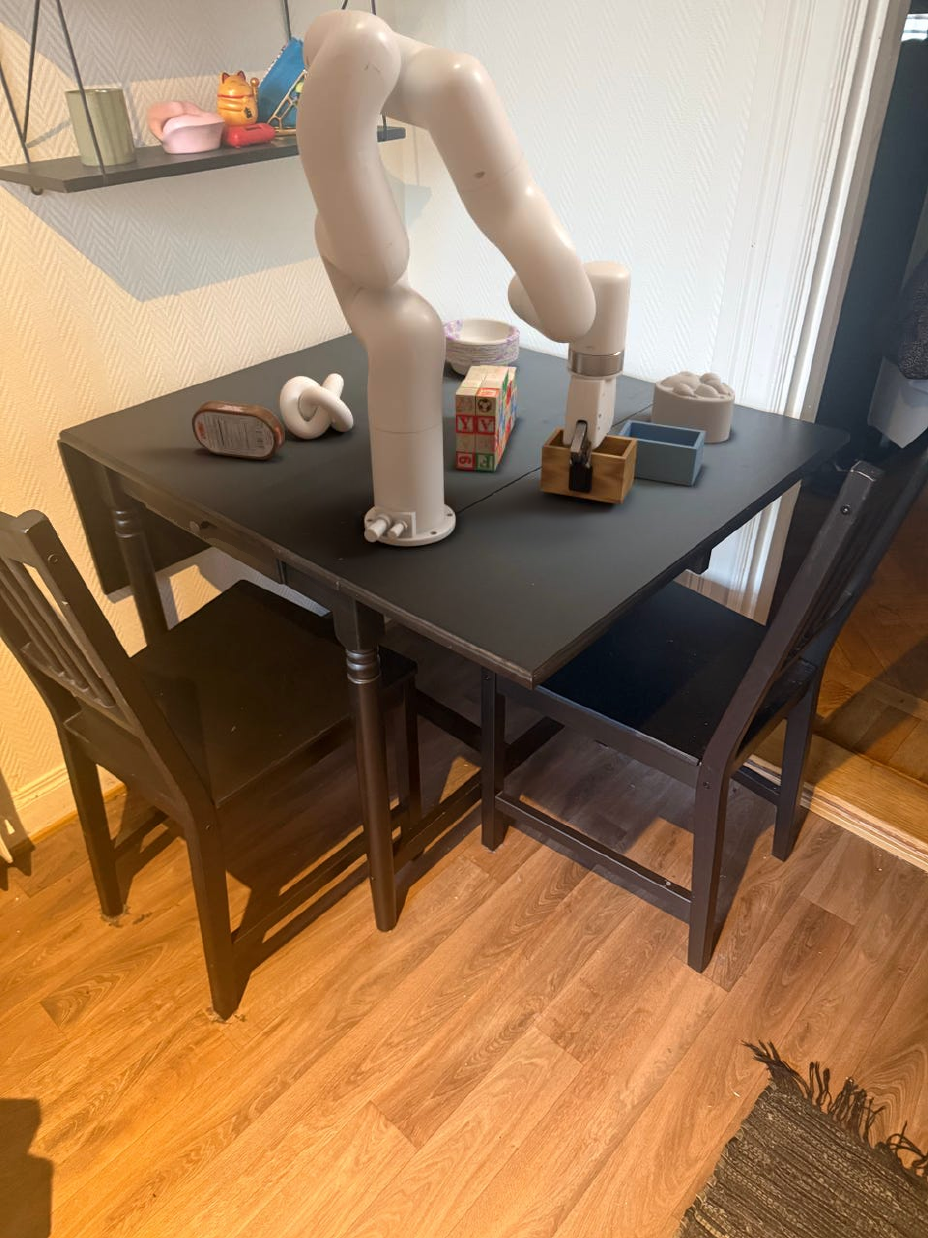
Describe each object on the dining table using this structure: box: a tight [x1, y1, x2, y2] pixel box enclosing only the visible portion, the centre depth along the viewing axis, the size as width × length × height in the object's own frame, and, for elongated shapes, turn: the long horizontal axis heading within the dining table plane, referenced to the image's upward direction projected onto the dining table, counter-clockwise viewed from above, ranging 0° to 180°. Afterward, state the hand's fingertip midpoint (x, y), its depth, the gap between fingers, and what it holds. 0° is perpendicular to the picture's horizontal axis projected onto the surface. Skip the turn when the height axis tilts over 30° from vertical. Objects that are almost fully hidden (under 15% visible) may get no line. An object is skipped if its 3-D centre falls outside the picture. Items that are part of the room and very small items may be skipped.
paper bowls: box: [443, 317, 521, 377], centre depth 178 cm, size 15×15×8 cm
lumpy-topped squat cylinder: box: [650, 370, 736, 444], centre depth 153 cm, size 10×13×9 cm
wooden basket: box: [540, 427, 638, 505], centre depth 133 cm, size 12×7×7 cm, turn 68°
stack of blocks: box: [454, 365, 518, 473], centre depth 148 cm, size 21×6×12 cm, turn 168°
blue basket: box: [617, 419, 706, 487], centre depth 141 cm, size 12×7×6 cm, turn 68°
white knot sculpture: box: [279, 373, 354, 440], centre depth 154 cm, size 11×12×9 cm
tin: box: [191, 400, 286, 461], centre depth 146 cm, size 15×3×8 cm, turn 74°
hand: (587, 478), depth 135 cm, fingers closed on wooden basket, 7 cm apart
